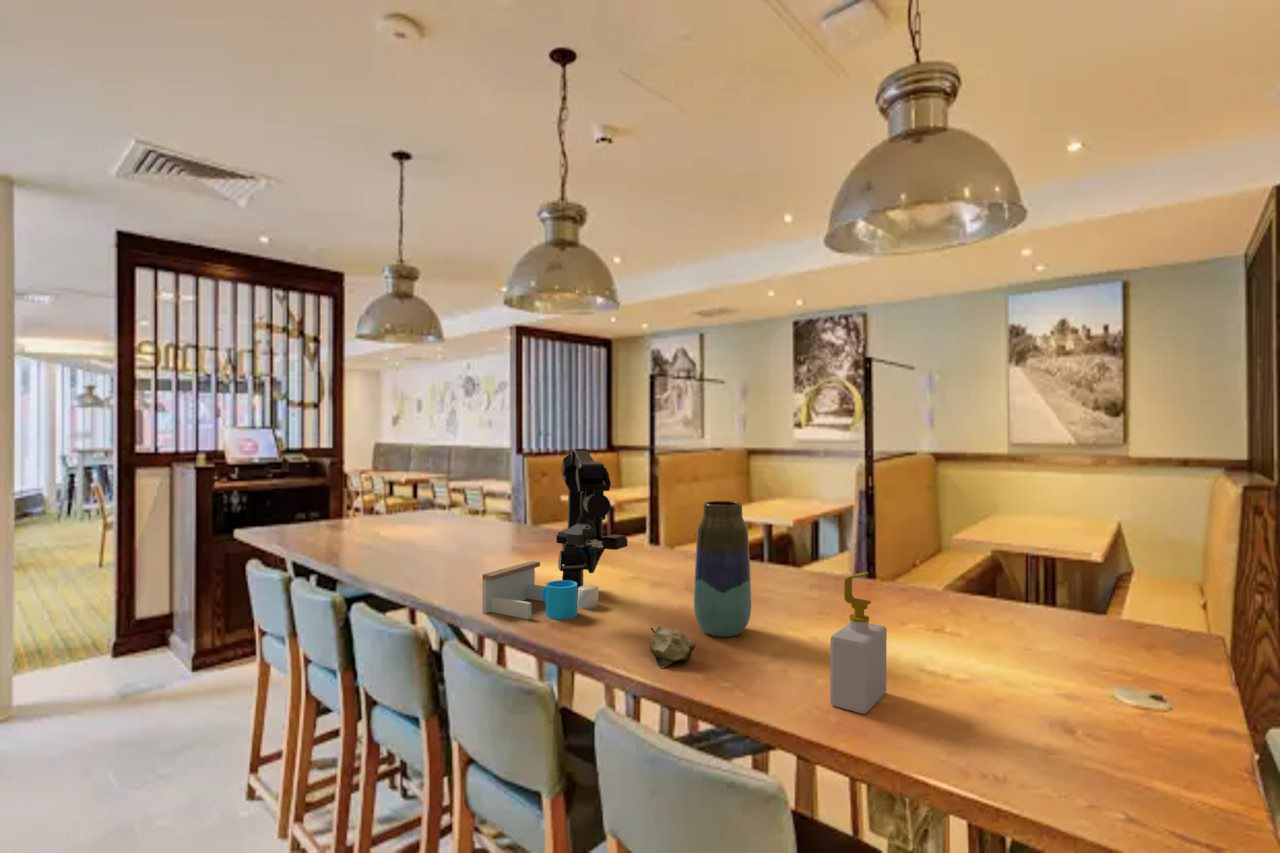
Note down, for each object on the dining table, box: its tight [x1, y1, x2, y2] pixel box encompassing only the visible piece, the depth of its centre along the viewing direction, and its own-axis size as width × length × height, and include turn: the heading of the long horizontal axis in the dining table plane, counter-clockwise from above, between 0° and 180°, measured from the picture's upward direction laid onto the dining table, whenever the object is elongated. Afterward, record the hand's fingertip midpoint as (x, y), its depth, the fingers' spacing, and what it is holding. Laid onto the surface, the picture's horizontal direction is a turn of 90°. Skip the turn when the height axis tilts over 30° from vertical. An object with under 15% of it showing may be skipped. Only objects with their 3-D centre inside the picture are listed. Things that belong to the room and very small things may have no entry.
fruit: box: [649, 625, 697, 670], centre depth 140 cm, size 9×9×8 cm
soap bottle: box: [829, 571, 888, 715], centre depth 120 cm, size 12×7×23 cm, turn 143°
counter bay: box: [482, 560, 546, 620], centre depth 179 cm, size 20×14×10 cm
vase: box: [693, 500, 752, 638], centre depth 159 cm, size 14×14×31 cm
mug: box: [543, 579, 578, 620], centre depth 174 cm, size 12×8×8 cm
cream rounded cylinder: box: [577, 584, 599, 610], centre depth 181 cm, size 6×6×5 cm
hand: (591, 572), depth 169 cm, fingers closed
